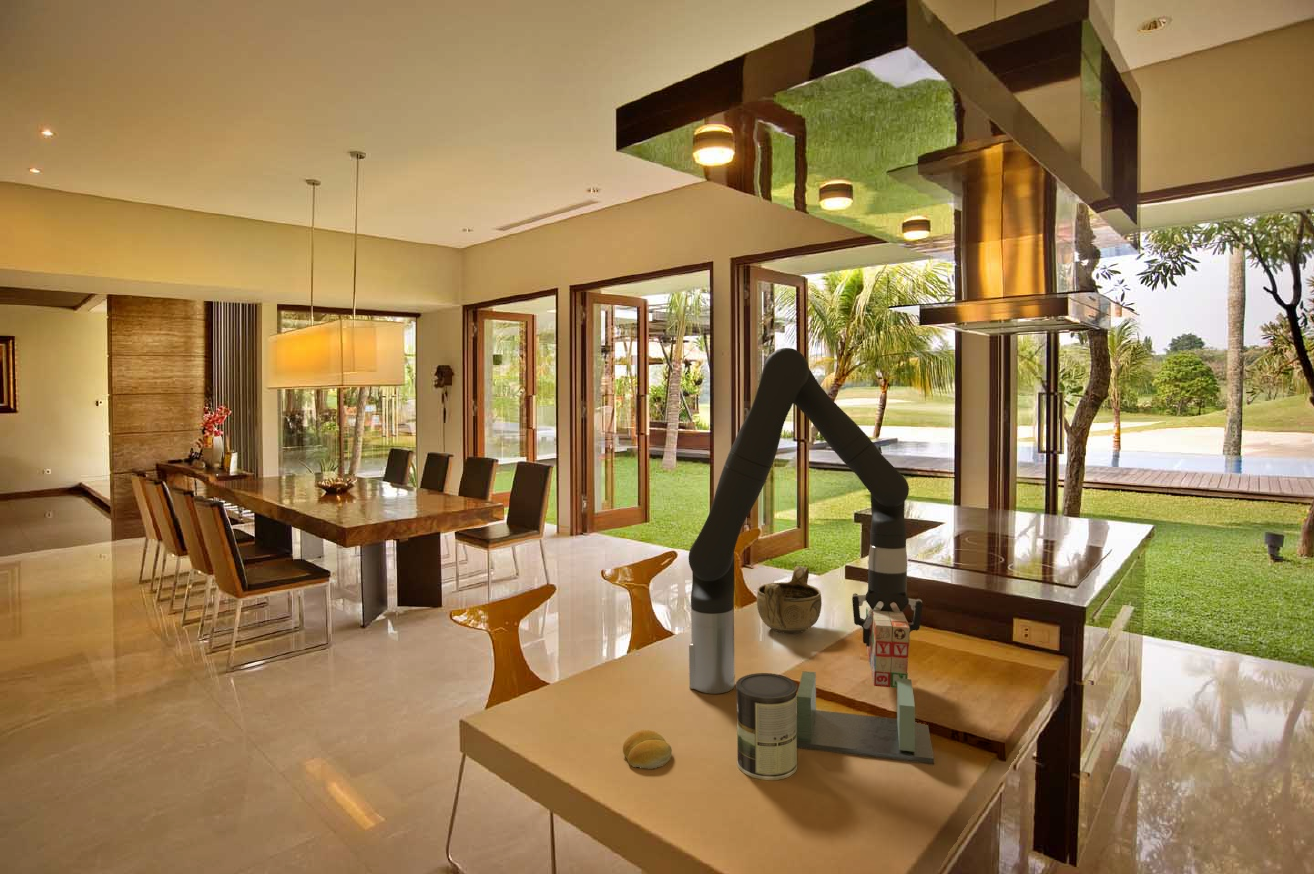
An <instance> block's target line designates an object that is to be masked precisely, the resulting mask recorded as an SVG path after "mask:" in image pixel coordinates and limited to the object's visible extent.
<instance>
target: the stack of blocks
mask: <svg viewBox="0 0 1314 874" xmlns="http://www.w3.org/2000/svg"><path fill="white" fill-rule="evenodd" d="M870 610H871V612H872V609H871V607H870V606H869V607H866V608H865V617H866V616H867V615H868V612H869V611H870ZM907 622H908V620H907V618H906V615H905V614H904V612H903V611H902V612H901V613H894V612H888V611H873V620H872V623H871V625H870V647H868V646H866V645H865V647H866V654H867V657H868V662H869V666H870V670H871V676H872V682H873V686H874V687H881V688H895V689H897V678H901V679H909V678H908V676H909V675H908V674H909V673H908V668H909V667H908V665H909V653H910V651H909V647H910V635H909V629H910V628H909V625H908V623H909V622H908V623H907Z"/></svg>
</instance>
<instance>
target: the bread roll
mask: <svg viewBox="0 0 1314 874" xmlns="http://www.w3.org/2000/svg"><path fill="white" fill-rule="evenodd" d="M622 753H623V755H624V757H625V758H626V759H627V762H628V764H629V765H630V766H631V765H632V767H633V766H634V767H633V768H636V767H641V768H640V769H642V768H648V769H647V770H654V769H653V768H655V769H658V768H657V767H659V768H661V767H663V766H665V765H666V764H667V763H668V762H669V761H671V759H672V753H673V750H672V746H671V745H670V743H668V742H667V741H666V739H665V738H664V737H663V736H662V735H661V734H660V733H658V732H656V731H653V730H649V729H646V730H645V729H643V730H639V731H636V732H634V733H633V734H631V735H630V736H628V737H627V738H626V739H625V741H624V742H623V745H622ZM664 764H665V765H664ZM662 765H663V766H662ZM660 766H661V767H660Z"/></svg>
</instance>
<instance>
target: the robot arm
mask: <svg viewBox="0 0 1314 874" xmlns="http://www.w3.org/2000/svg"><path fill="white" fill-rule="evenodd" d="M793 404H794V405H795V406H796V407H797V408H798V409H799V410H800V412H802V413H803V414H804V415H805V416H806V418H807V419H808V420H809V421H810V422H811V423H812V425H813V426H814V427H815V428H816V430H817V431H818V432H819V434H820V436H821V437H822V438H823V439H824V440H825V442H826V443H827V445H828V446H829V447H830V448H831V449H832V450H833V452H834V453H835V454H836V455H837V456H838V457H839V458H840V460H841V461H842V462H843V463H844V464H845V465H846V466H847V467H848V468H849V469H850V470H851V471H852V472H853V473H854V474H855V475H856V476H857V477H858V480H859V481H860V482H861V483H862V485H864V487H865V488H866V489H867V491H868V492H869V493H870V509H871V522H870V534H869V537H870V540H869V551H868V561H867V564H868V565H867V566H868V568H867V570H868V571H867V572H868V575H867V576H868V577H867V578H868V579H867V592H866V593H865V594H858V593H855V592H854V593H853V594H852V598H851V599H852V600H851V601H852V602H851V603H852V613H853V621H854V622H853V623H854V625H856V626H860V627H861V628H862V643H863V644H866V645H865V647H866V646H868V647H870V625H871V623H872V620H873V611H888V612H894V613H901V612H903V611H904V610H905V609H906V607H907V606H908V605H910V609H911V611H913V617H912V618H913V619H912V622H908V621H907V623H908V625H909V628H910V629H909V636H910V633H911V632H913V631H916V632H917V631H920V626H921V619H922V611H923V606H924V605H923V600H922V599H921V598H916V599H915V598H909V597H908V594H907V588H908V586H907V584H908V583H907V582H908V579H907V578H908V576H907V575H908V552H907V522H906V519H905V509H906V508H905V501H907V499H908V496H909V492H910V487H909V486H910V485H909V483H908V481H907V479H906V477H904V476H903V474H901V472H899V470H898V469H897V468H895V466H893V464H892V463H891V462H890V461H889V460H888V459H886V457H884V455H883V454H882V453H881V451H880V450H879V448H878V447H877V446H876V444H875V443H874V442H873V441H872V440H871V438H870V437H869V436H868V435H867V434H866V433H865V432H864V431H863V429H862V428H861V427H860V426H859V425H858V424H857V423H856V422H855V421H854V420H853V419H852V418H851V417H850V416H849V415H848V414H847V413H846V412H845V411H844V410H843V409H841V408H840V406H839V405H838V404H837V403H836V402H835V401H834V400H833V399H832V398H831V397H830V396H829V395H828V393H827V392H826V391H825V390H824V388H823V387H822V386H821V384H820V383H819V382H818V380H817V378H816V377H815V375H814V374H813V372H812V370H811V369H810V366H809V362H808V360H807V359H806V357H805V356H804V355H803V353H802V352H800V351H798V350H797V349H794V348H791V347H783V348H779V349H777V350H774V351H773V352H771V353H770V354H769V355H768V357H767V358H766V359H765V361H764V363H763V367H762V372H761V376H760V379H759V382H758V386H757V389H756V393H755V396H754V400H753V402H752V405H751V407H750V410H749V412H748V414H747V416H746V417H745V420H744V422H743V423H742V425H741V427H740V429H739V430H738V433H737V435H736V437H735V438H734V442H733V444H732V445H731V447H730V450H729V453H728V455H727V457H726V460H725V463H724V465H723V468H722V471H721V474H720V477H719V479H718V484H717V486H716V490H715V493H714V498H713V500H712V504H711V508H710V511H709V513H708V516H707V518H706V520H705V522H704V524H703V526H702V528H701V530H700V531H699V534H698V536H697V537H696V539H695V541H694V542H693V544H692V546H691V547H690V549H689V551H688V565H689V567H690V570H691V572H692V576H691V577H692V580H691V581H692V583H691V584H692V585H691V593H690V619H691V621H690V622H691V623H690V626H691V628H690V629H691V630H690V631H691V642H690V643H689V646H688V662H689V663H688V664H689V665H688V668H689V673H688V675H689V679H688V680H689V689H691V690H692V689H693V690H696V691H698V692H701V693H704V694H711V695H712V694H715V695H717V694H724V693H728V692H729V691H732V690H733V689H735V687H736V682H735V681H736V680H735V678H736V674H735V673H736V672H735V607H734V606H735V605H734V604H735V603H734V601H735V573H736V572H735V567H736V566H735V564H736V563H735V549H736V546H737V542H738V539H739V537H740V533H741V531H742V528H743V526H744V523H745V522H746V519H747V517H748V516H749V514H750V512H751V510H752V509H753V507H754V505H755V503H756V502H757V500H758V499H759V496H760V494H761V492H762V490H763V488H764V486H765V484H766V481H767V479H768V477H769V474H770V472H771V469H772V466H773V464H774V461H775V458H776V454H777V451H778V448H779V445H780V441H781V437H782V431H783V428H784V424H785V422H786V420H787V417H788V415H789V413H790V411H791V408H792V406H793ZM864 601H865V602H866V603H867V604H868V606H869V607H871V609H872V612H871V610H870V611H869V612H868V615H867V616H866V615H865V617H864V618H862V617H861V611H860V607H861V606H863V603H864Z"/></svg>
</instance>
